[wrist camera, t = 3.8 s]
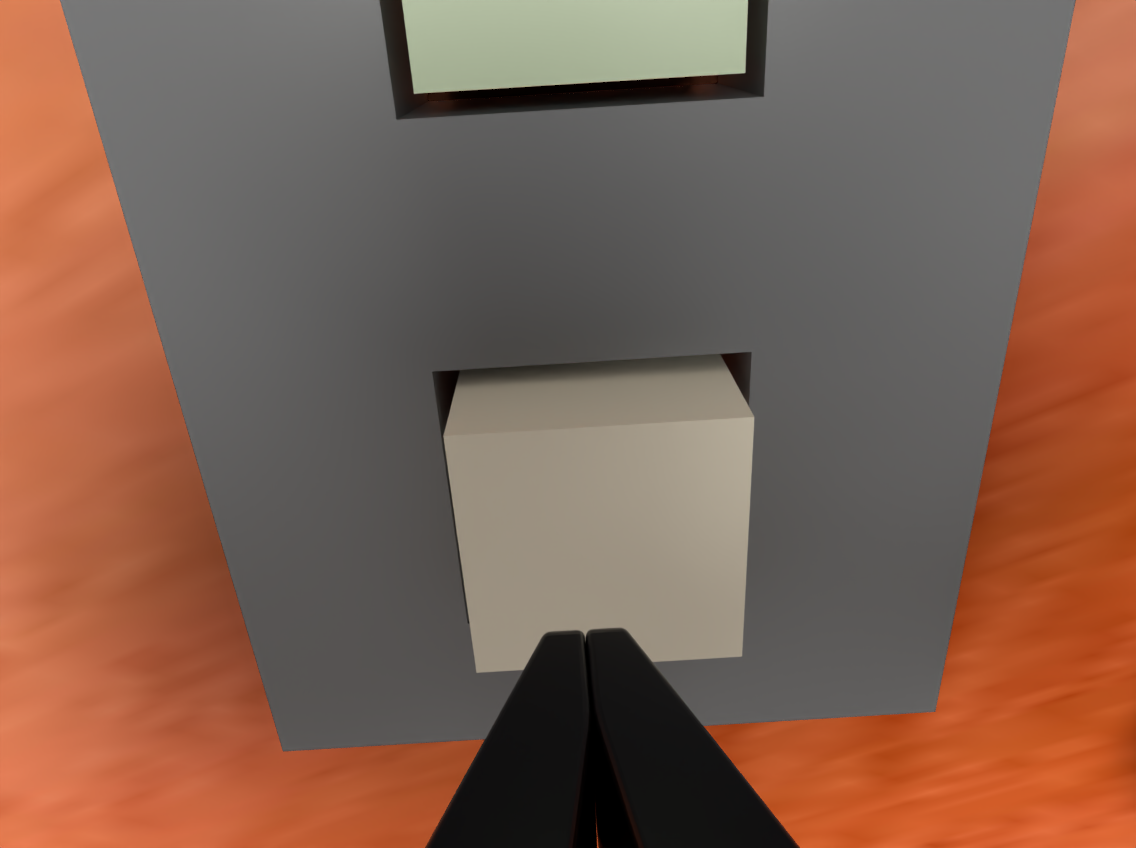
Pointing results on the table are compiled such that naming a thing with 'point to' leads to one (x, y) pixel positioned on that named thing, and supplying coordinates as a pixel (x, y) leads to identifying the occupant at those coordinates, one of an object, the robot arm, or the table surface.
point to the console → (579, 318)
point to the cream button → (602, 504)
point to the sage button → (570, 41)
